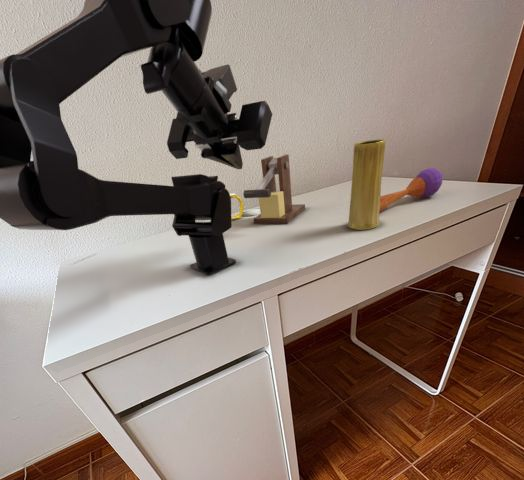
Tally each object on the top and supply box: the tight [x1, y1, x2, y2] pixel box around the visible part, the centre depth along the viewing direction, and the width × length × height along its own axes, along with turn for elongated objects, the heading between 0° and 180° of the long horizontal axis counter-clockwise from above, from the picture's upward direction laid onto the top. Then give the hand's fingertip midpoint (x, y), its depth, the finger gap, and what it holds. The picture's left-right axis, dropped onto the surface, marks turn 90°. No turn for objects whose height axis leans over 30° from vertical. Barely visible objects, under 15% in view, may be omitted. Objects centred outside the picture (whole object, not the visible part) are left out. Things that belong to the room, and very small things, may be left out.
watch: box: [229, 193, 245, 221], centre depth 77 cm, size 6×3×6 cm, turn 125°
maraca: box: [379, 167, 444, 212], centre depth 67 cm, size 6×6×20 cm
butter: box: [258, 190, 285, 218], centre depth 69 cm, size 3×5×5 cm, turn 63°
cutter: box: [253, 154, 306, 225], centre depth 70 cm, size 12×9×13 cm
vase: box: [347, 138, 386, 231], centre depth 56 cm, size 6×6×14 cm
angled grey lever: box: [243, 157, 278, 199], centre depth 65 cm, size 13×6×2 cm, turn 154°
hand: (240, 166), depth 56 cm, fingers closed
